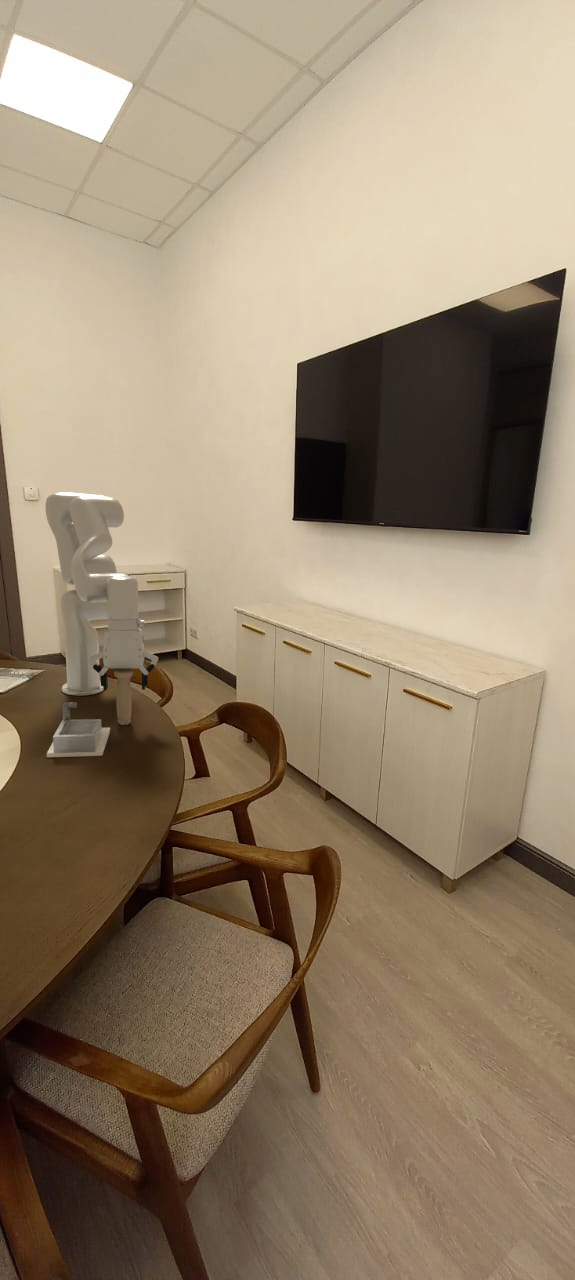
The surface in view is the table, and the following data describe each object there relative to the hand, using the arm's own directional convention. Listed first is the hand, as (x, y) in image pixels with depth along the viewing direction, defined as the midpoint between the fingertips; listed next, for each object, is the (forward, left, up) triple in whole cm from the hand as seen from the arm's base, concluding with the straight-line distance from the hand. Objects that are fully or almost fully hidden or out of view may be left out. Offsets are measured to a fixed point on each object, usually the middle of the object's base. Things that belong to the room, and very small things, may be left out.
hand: (124, 688), depth 136 cm
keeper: (+11, -9, -10) cm, 18 cm away
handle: (-1, 0, -10) cm, 10 cm away
